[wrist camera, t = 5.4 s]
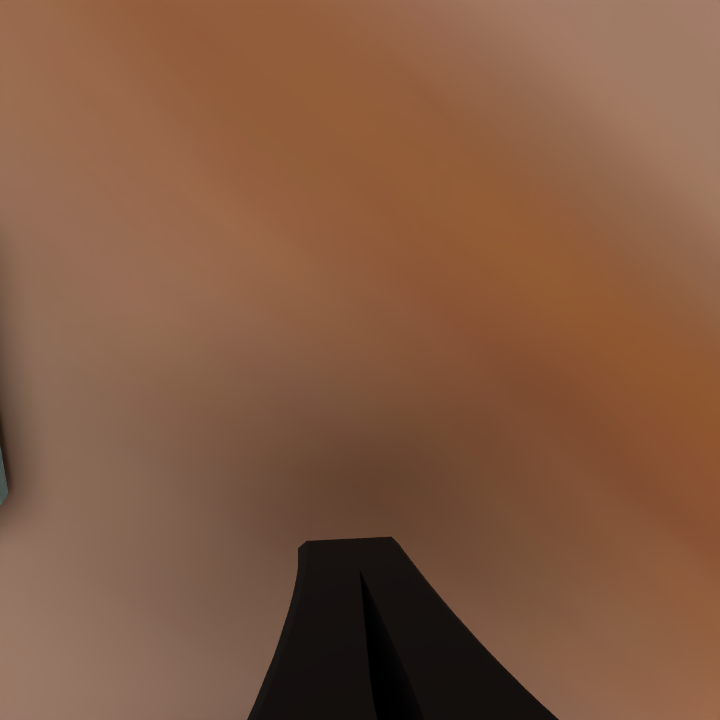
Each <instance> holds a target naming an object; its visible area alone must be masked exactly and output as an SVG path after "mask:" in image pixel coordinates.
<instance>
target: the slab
mask: <svg viewBox="0 0 720 720" xmlns="http://www.w3.org/2000/svg"><path fill="white" fill-rule="evenodd" d="M7 495H8V488H7V482H6V476H5V471H4V465H3V459H2V453H1V447H0V505H1V504H2V502H3V501H4V499H5V498H6V496H7Z"/></svg>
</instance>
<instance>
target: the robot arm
mask: <svg viewBox="0 0 720 720" xmlns="http://www.w3.org/2000/svg"><path fill="white" fill-rule="evenodd" d="M247 720H559V719H557V718H556V717H555V716H554V715H553V714H552V713H551V712H550V711H549V710H548V709H546V708H545V707H544V706H543V705H542V704H541V703H540V702H539V701H538V700H537V699H536V698H535V697H534V696H533V695H532V694H530V693H529V692H528V691H527V690H526V689H525V688H524V687H523V686H522V685H521V684H520V683H519V682H518V681H517V680H516V679H515V678H514V677H513V676H512V675H511V674H510V673H509V672H508V671H507V670H506V669H505V668H504V667H503V666H502V665H501V664H500V663H499V662H498V661H497V660H496V659H495V658H494V657H493V655H492V654H491V653H490V652H489V651H488V650H487V649H486V648H485V647H484V646H483V645H482V644H481V643H480V642H479V641H478V639H477V638H476V637H475V636H474V635H473V634H472V633H471V632H470V631H469V629H468V628H467V627H466V626H465V625H464V624H463V623H462V622H461V620H460V619H459V618H458V617H457V616H456V615H455V614H454V613H453V612H452V610H451V609H450V608H449V607H448V606H447V604H446V603H445V602H444V601H443V600H442V599H441V597H440V596H439V595H438V594H437V592H436V591H435V590H434V589H433V588H432V586H431V585H430V584H429V583H428V581H427V580H426V579H425V578H424V576H423V575H422V574H421V573H420V571H419V570H418V569H417V567H416V566H415V565H414V564H413V562H412V561H411V560H410V558H409V557H408V556H407V554H406V553H405V552H404V550H403V549H402V548H401V546H400V545H399V544H398V543H397V542H396V541H395V540H394V539H393V538H392V537H376V538H356V539H336V540H317V541H306V542H305V543H304V544H303V545H301V546H300V547H299V548H298V572H297V578H296V583H295V588H294V592H293V596H292V600H291V604H290V608H289V611H288V614H287V617H286V620H285V624H284V627H283V630H282V633H281V636H280V639H279V642H278V646H277V648H276V651H275V654H274V657H273V659H272V662H271V664H270V667H269V669H268V671H267V674H266V676H265V679H264V681H263V684H262V686H261V689H260V691H259V694H258V696H257V699H256V701H255V703H254V706H253V708H252V710H251V713H250V715H249V717H248V719H247Z"/></svg>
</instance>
